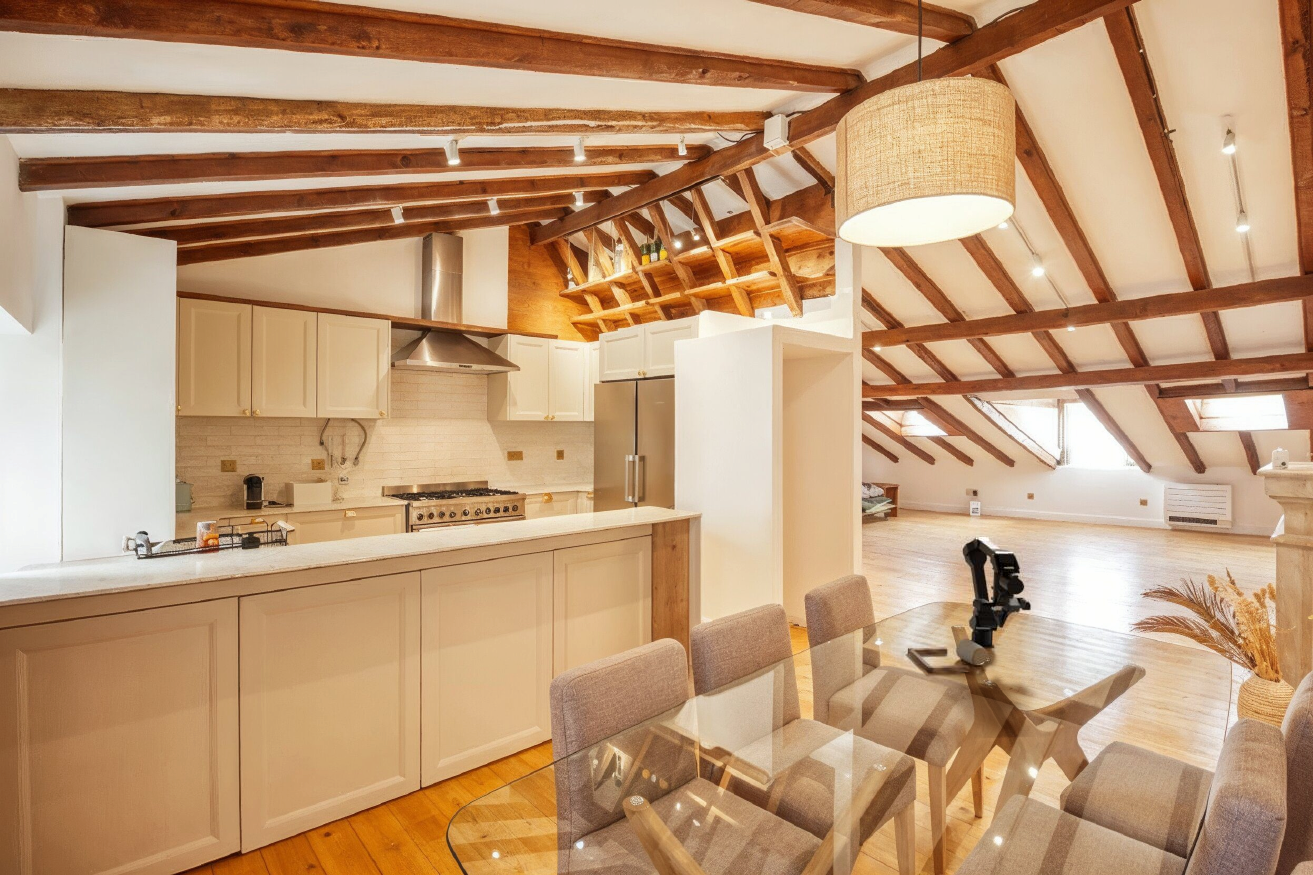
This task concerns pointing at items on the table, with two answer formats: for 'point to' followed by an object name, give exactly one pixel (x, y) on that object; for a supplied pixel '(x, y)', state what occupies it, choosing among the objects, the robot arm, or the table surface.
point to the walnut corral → (916, 656)
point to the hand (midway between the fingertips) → (1000, 627)
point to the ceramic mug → (971, 652)
